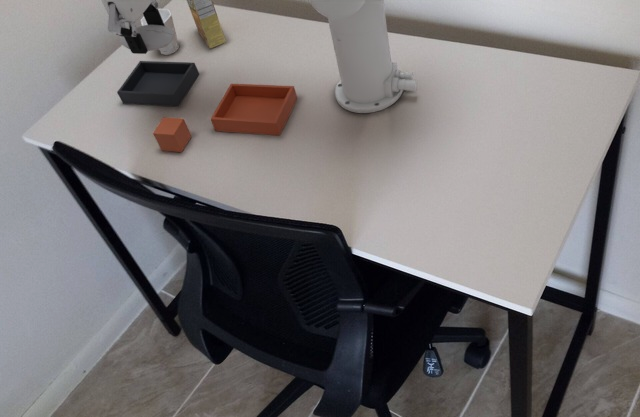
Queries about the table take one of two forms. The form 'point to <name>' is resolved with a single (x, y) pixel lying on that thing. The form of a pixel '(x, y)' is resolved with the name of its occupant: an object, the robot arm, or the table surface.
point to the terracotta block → (172, 134)
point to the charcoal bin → (158, 83)
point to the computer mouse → (153, 36)
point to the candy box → (207, 22)
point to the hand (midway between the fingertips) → (148, 39)
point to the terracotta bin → (254, 109)
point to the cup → (169, 23)
